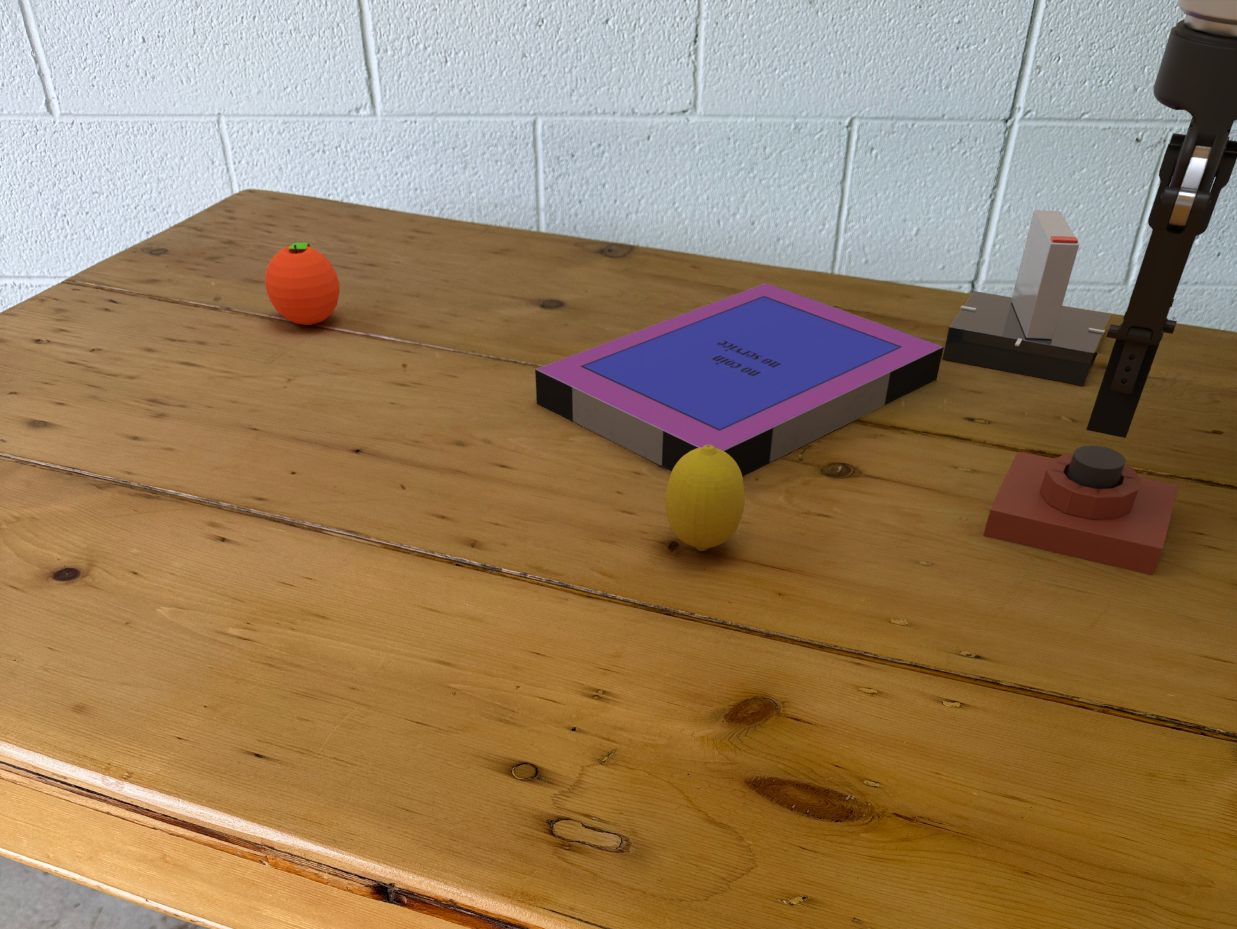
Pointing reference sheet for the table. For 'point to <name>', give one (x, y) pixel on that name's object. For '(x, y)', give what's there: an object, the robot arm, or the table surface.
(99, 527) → the table surface
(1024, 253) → the grey panel on base
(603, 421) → the book
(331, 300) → the clementine
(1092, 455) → the button
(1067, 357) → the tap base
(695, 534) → the lemon
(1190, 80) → the robot arm
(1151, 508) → the switch block
